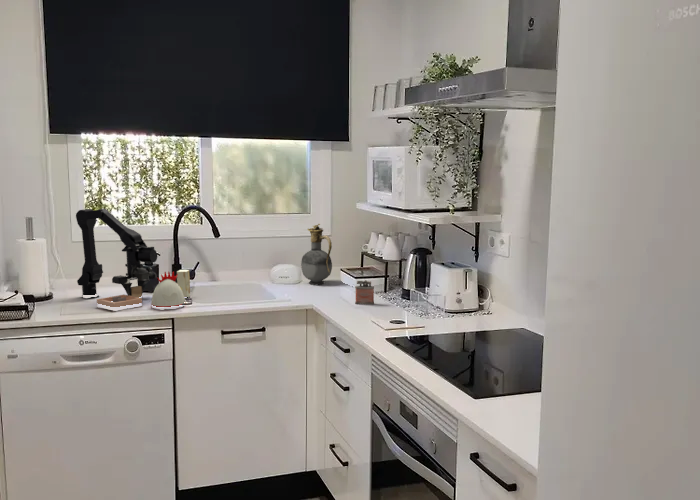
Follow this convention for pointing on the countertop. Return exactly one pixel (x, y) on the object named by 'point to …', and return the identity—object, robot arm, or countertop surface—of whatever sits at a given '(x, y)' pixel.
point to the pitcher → (317, 258)
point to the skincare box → (184, 281)
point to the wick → (136, 291)
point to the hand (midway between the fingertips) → (135, 296)
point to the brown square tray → (119, 300)
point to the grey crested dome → (167, 292)
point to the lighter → (364, 293)
